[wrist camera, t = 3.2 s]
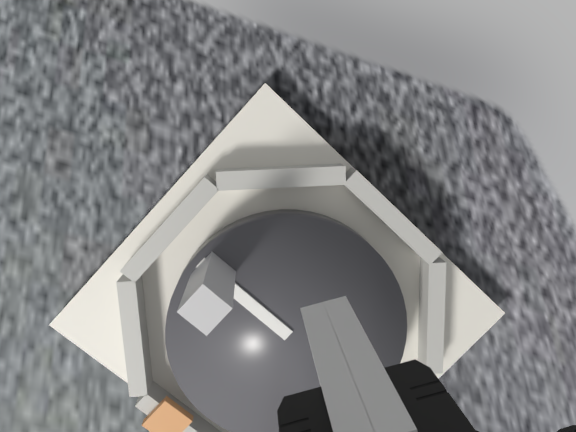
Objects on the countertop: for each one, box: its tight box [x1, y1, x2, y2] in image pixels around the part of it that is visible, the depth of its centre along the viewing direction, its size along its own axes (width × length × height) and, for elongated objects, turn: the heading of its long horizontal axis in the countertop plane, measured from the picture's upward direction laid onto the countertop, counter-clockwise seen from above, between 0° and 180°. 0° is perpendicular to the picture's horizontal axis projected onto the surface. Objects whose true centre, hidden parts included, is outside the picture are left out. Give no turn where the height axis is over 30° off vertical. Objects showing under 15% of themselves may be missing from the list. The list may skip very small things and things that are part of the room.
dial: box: [165, 209, 407, 432], centre depth 30 cm, size 16×16×8 cm
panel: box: [49, 83, 505, 432], centre depth 33 cm, size 24×22×4 cm
